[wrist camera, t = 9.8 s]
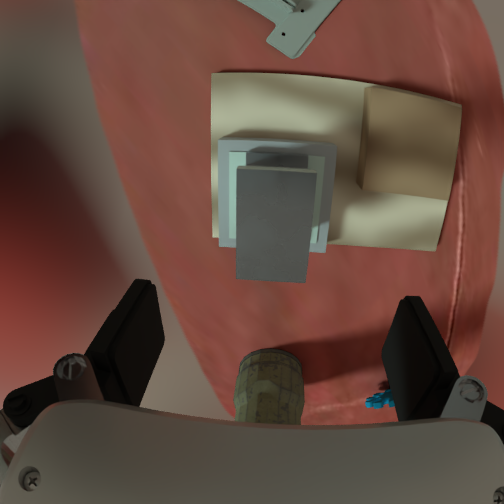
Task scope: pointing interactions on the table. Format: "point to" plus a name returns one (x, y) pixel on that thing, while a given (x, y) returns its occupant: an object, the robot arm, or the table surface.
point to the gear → (380, 400)
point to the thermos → (269, 388)
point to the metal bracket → (293, 21)
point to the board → (331, 131)
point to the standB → (318, 152)
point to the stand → (407, 144)
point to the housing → (274, 216)
